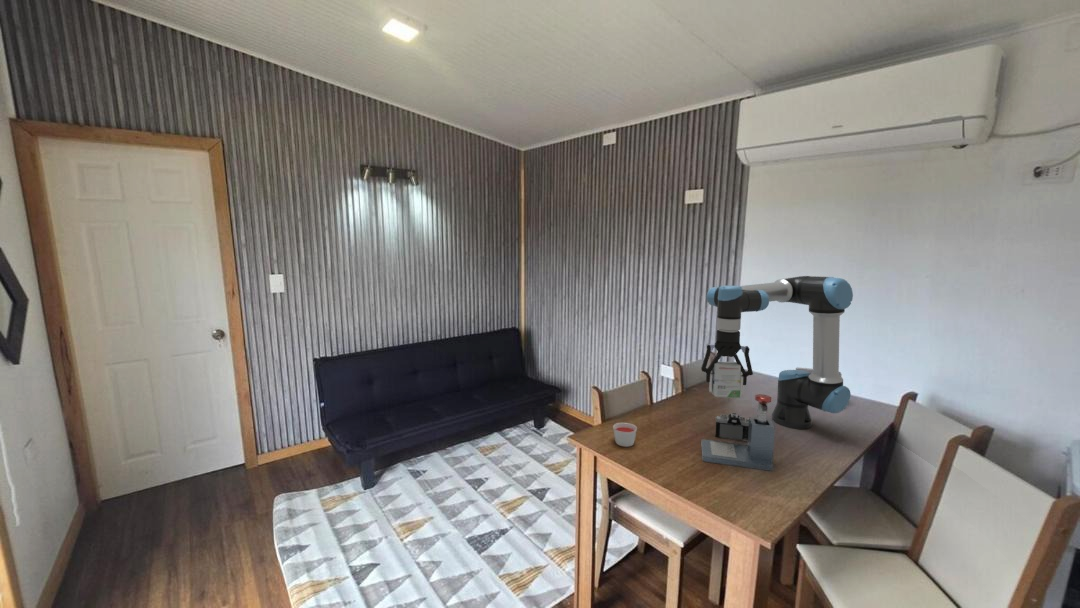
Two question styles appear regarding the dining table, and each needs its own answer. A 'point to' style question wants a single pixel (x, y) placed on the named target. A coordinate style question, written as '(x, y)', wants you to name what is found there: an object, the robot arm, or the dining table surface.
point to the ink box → (726, 379)
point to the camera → (732, 427)
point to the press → (744, 448)
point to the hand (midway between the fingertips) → (725, 392)
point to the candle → (624, 434)
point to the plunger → (762, 407)
